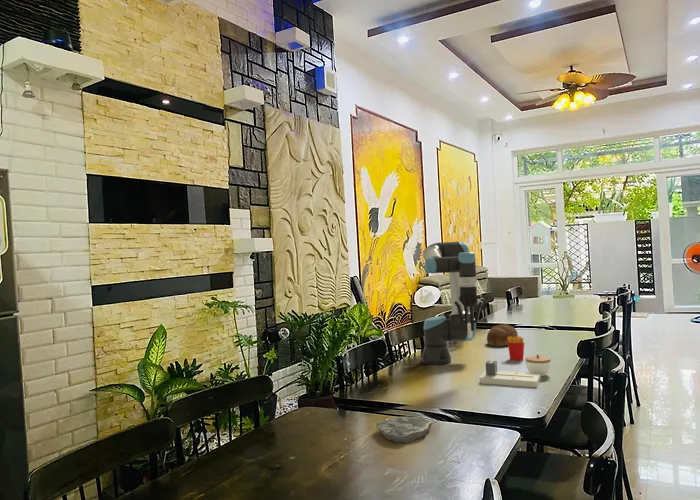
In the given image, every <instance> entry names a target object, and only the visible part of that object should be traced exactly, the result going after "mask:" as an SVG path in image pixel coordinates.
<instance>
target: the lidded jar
mask: <svg viewBox="0 0 700 500" xmlns="http://www.w3.org/2000/svg"><path fill="white" fill-rule="evenodd" d="M525 366H526V369H527V372H528V373H540V374H541V376H543V377H546V376H545V375H547V374H548V373H549V371H550V369H551V358H550V357H548V356H544V355H540V354H539V353H538V354H536V355H529V356H526V357H525Z"/></svg>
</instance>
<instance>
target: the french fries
mask: <svg viewBox="0 0 700 500" xmlns="http://www.w3.org/2000/svg"><path fill="white" fill-rule="evenodd" d="M507 339H508V346H507V347H508V354H509V359H510V360H511V361H523V360H524V356H525V355H524V354H525V353H524V351H525V342H524V337H522V336H518V337H515V336H514V337H512V336H510V337H507Z"/></svg>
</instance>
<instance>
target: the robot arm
mask: <svg viewBox="0 0 700 500" xmlns="http://www.w3.org/2000/svg"><path fill="white" fill-rule="evenodd" d="M422 257H423V261H424V270H425V273H426V274H444V273H448V274H449V276H448V277H449V289H450V302H451V304H450V305H451V313H450V314H449V316H448V317H449V318H447V317H446V316H444V315H441V316H433V317H428V318H426V319H425V320H424V322H423V336H424V339H423V341H424V347H423V348H424V349H423V352H422V357H421V363H422V364H425V365H430V366H431V365H433V366H435V365H436V366H437V365H438V366H439V365H448V364H450V363H451V362H452V356H451V354H450V350H449V349H448V342H469V341H473V340H474V339H475V336H476V328H477V324H476V323H477V322H479V319H480V313H481V310H482V306H483V304H484V300H483V301H482V300H481V299H479V297H478V290H477V272H476V271H477V270H476V269H477V268H476V266H477V265H476V264H477V263H476V260H477V259H476V254H475V252H474V251H473V252H472V251H469V247H468V244H467V243H466V242H465V241H447V242H446V241H444V242H435V243H432V244H430V245H428V246H427V247H425V249H424V250H423V253H422ZM476 304H477V306H476V311H475V305H476Z"/></svg>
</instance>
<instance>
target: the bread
mask: <svg viewBox="0 0 700 500" xmlns="http://www.w3.org/2000/svg"><path fill="white" fill-rule="evenodd" d="M510 336H512V337H514V336H515V337H519V336H518V331H517V329H516V328H515V327H514V326H512V325H510V324H507V323H501V324H496V325H494V326H492V327H491V328H490V329H489V331H488V332H487V336H486V342H487V344H488V345H489V346H491V347H495V348H496V347H498V348H499V347H508V339H507V337H510Z"/></svg>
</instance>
